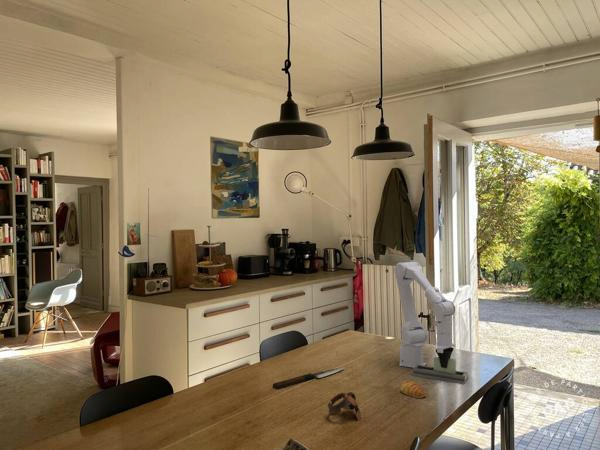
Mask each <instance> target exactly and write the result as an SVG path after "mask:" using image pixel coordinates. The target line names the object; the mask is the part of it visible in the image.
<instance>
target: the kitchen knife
mask: <svg viewBox="0 0 600 450" xmlns="http://www.w3.org/2000/svg"><path fill="white" fill-rule="evenodd" d="M344 369H346V367H337V368H336V367H335V368H331V369H327V370H323V371H319V372H315V373H311V372H310V373H307V374H303V375H299V376H296V377H291V378H288V379H285V380H282V381H277V382H274V383H272V388H273V389H276V390H281V389H284V388H288V387H290V386H294V385H297V384H301V383H305V382H308V381H312V380H314V379H315V378H316V379H320V378H324V377H327V376H330V375H333V374H335V373H338V372H340V371H343V370H344Z"/></svg>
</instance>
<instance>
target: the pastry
mask: <svg viewBox="0 0 600 450" xmlns="http://www.w3.org/2000/svg"><path fill="white" fill-rule="evenodd" d="M399 388H400V389H399V390H400V391H401V392H402V394H404V395H406V396H409V397H412V398H415V399H416V398H417V399H421V398H424V397H426V395H427V392H426V391H425V388H423V386H421V385H420V384H418V383H417V382H414V381H410V380H405V381H404V382H402V383H401V385H400V387H399Z"/></svg>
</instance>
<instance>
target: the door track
mask: <svg viewBox="0 0 600 450" xmlns="http://www.w3.org/2000/svg"><path fill="white" fill-rule="evenodd" d="M468 374H469V373H468V372H465V371H459V370H456V374H451V373H445V372H438V371H434V366H433V367H432V366H427V365H425V366H422V365H416V366H415V367H414V368H412V372H411V376H413V377H420V378H425V379H429V380H437V381H443V382H448V383H454V384H460V385H465V383H466V382H467V381H468V379H469V375H468Z"/></svg>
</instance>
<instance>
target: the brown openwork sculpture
mask: <svg viewBox="0 0 600 450" xmlns="http://www.w3.org/2000/svg"><path fill="white" fill-rule="evenodd" d="M342 398H343V399H342ZM341 399H342V400H341ZM340 400H341V401H340ZM338 401H340V402H338ZM336 402H338V403H336ZM335 403H336V404H335ZM327 408H328V413H329V415H331V416H332V415H336V414H337V415H342V409H343V410H348V411H349V410H351V411H353V410H354V411H355V418H356V420H357V422H359V421H360V420H361V418H362V414H361V410H360V408H359V405H358V403H357V398H356V395H355V393H354V392H353V391H350V392H340V393H337V394H336V395H335V396H333V397H332V398H331V399H330V400H329V402H328V403H327Z"/></svg>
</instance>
